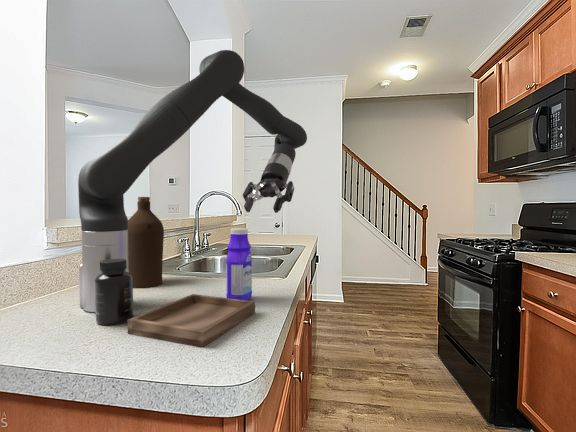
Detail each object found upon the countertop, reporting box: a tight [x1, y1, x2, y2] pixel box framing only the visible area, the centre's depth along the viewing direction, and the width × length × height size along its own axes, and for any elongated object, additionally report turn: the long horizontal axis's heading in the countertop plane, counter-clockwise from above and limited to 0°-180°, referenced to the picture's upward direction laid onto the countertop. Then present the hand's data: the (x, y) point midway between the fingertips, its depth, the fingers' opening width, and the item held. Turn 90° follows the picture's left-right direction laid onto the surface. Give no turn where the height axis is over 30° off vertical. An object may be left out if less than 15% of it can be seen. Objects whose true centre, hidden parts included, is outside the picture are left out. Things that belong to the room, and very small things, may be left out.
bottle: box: [225, 227, 253, 301], centre depth 84 cm, size 7×6×17 cm
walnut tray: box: [127, 293, 256, 348], centre depth 69 cm, size 16×19×2 cm
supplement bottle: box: [94, 259, 135, 326], centre depth 69 cm, size 7×7×12 cm
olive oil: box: [128, 196, 165, 289], centre depth 99 cm, size 11×11×25 cm
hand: (260, 210), depth 95 cm, fingers open, 8 cm apart
